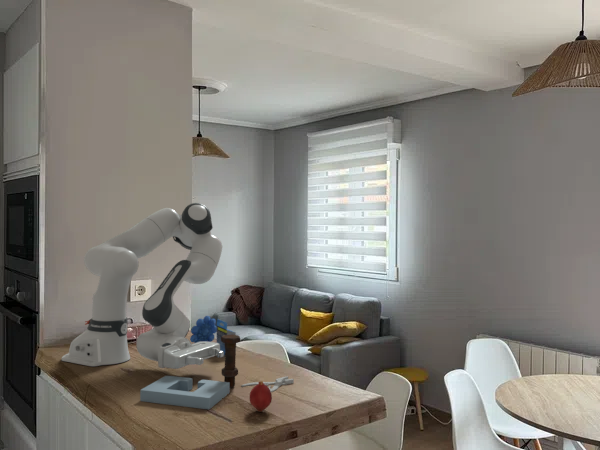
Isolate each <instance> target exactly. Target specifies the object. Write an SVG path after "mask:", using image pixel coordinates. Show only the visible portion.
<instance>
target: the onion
mask: <svg viewBox="0 0 600 450" xmlns="http://www.w3.org/2000/svg"><path fill="white" fill-rule="evenodd" d="M258 382H259V384H258V385H253V388H252V389H251V390H250V393H249V403H250V405H251V406H252V407H253V408H254V409H256V411H258V412H263V411H264V410H265V409H267V408H268V407H269V406H270V405H271V403H272V401H273V400H272V399H273V396H272V392H271V391H270V389H271V388H270V389H269V386H266V385H265V384H264V383H263V382H264V381H263V380H260V381H258Z"/></svg>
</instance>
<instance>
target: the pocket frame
mask: <svg viewBox="0 0 600 450" xmlns="http://www.w3.org/2000/svg"><path fill="white" fill-rule="evenodd" d="M193 380H194V379H193V377H192V378H191V377H181V376H173V375H164V376H163V377H161V378H159V379H158V380H156V381H153V382H152V383H150V384H148V385H146V386H145V387H142V388H141V389H140V393H139V394H140V396H139V398H140V399H139V401H140V402H146V403H153V404H161V405H170V406H178V407H187V408H194V409H201V410H211V409H212V408H213V407H214V406H215V405H216V404H218V403H219V402H220V401H222V398H223V399H224V398H226V396H228V395H229V394H230V390H231V388H230V382H224V381H221V380H210V379H209V380H208V379H201V380H198V382H197V387H196V388H197V389H195V390H193ZM191 390H193V391H191ZM227 394H228V395H227Z"/></svg>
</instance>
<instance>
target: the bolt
mask: <svg viewBox="0 0 600 450" xmlns="http://www.w3.org/2000/svg"><path fill="white" fill-rule="evenodd" d="M221 341H222V342H223V343H225V355H224V367H223V368H222V369H221V375H222V377H223V379H224V380H223V382H230V389H233V388H234V387H235V385H236V377H237V376H238V375H239V369H238V368H237V367H236V359H237V358H236V357H237V356H236V355H237V353H236V351H237V344H238V343H241V337H240V335H237V334H236V335H233V334H232V335H223V336H222V337H221ZM235 354H236V355H235Z"/></svg>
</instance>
